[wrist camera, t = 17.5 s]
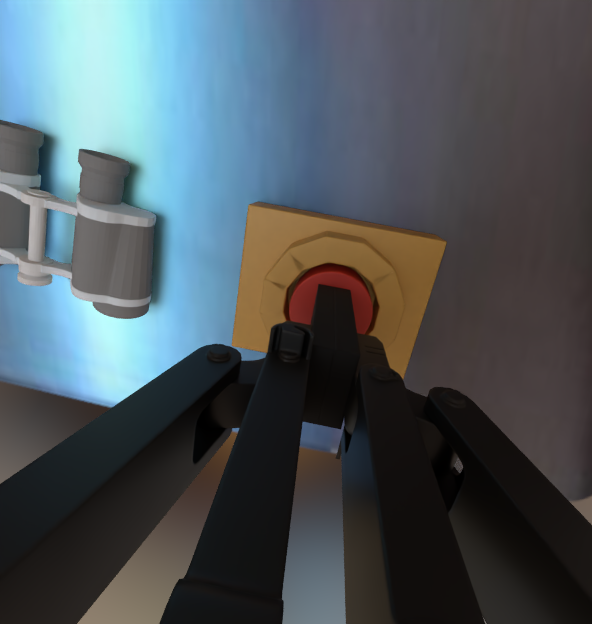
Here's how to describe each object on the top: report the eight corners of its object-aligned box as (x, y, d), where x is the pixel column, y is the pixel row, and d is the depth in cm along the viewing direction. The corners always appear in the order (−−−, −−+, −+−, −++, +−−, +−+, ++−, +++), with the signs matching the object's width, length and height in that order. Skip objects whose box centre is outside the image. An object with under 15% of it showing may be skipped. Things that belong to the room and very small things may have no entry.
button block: (436, 234, 20) (459, 248, 16) (396, 362, 23) (409, 398, 19) (256, 201, 20) (239, 207, 17) (240, 331, 23) (222, 361, 19)
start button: (378, 271, 18) (382, 280, 17) (359, 342, 20) (362, 357, 18) (299, 256, 19) (296, 264, 17) (286, 328, 20) (282, 341, 18)
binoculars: (-27, 246, 23) (-87, 258, 20) (-29, 107, 20) (-100, 94, 17) (157, 307, 23) (128, 329, 20) (181, 178, 20) (151, 179, 17)
